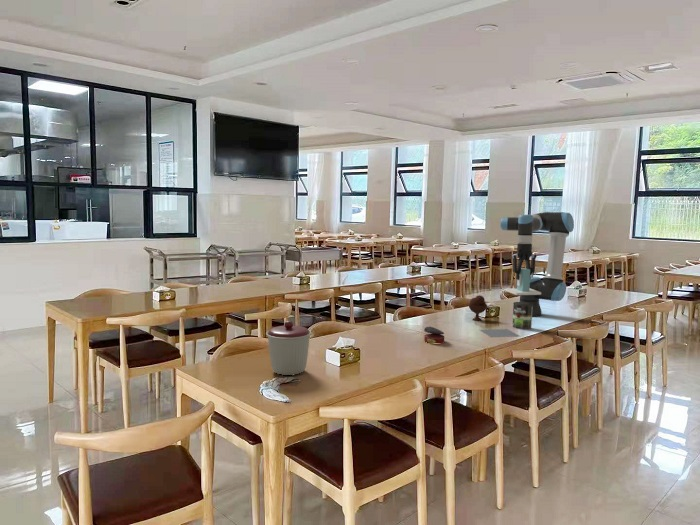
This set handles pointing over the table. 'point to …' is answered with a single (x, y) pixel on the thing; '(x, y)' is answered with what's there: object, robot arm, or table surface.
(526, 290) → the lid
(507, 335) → the mat
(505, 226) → the robot arm
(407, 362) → the table surface
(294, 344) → the canister
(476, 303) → the ice cream bowl
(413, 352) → the table surface
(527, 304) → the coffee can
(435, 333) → the canned food
